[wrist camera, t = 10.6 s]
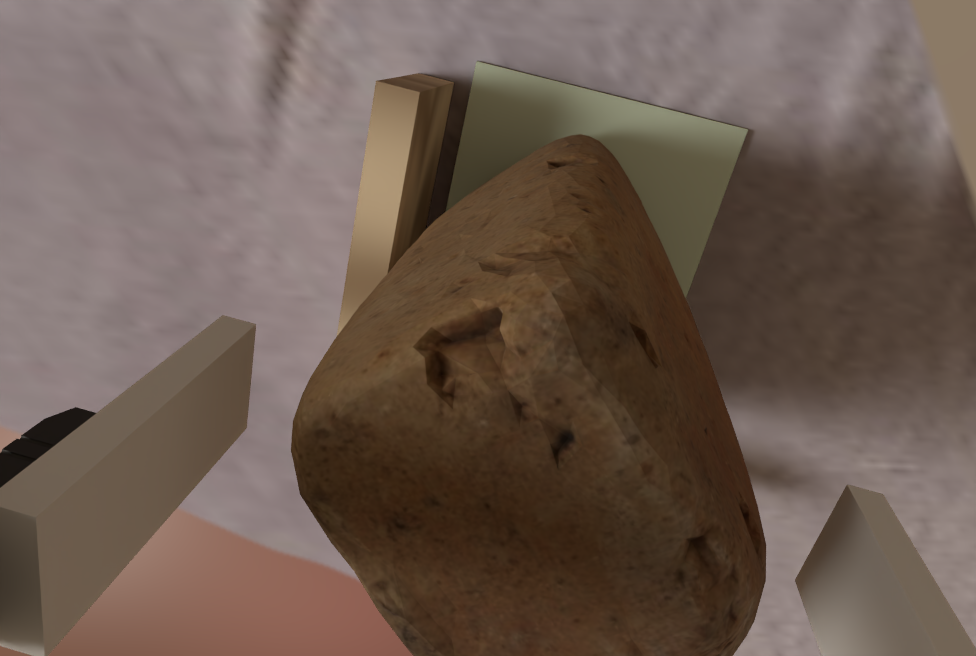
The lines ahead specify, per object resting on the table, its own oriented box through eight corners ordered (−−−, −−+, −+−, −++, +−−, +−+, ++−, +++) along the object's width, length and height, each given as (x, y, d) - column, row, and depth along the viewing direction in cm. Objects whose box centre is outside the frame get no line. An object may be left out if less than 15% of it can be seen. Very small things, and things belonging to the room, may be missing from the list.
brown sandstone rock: (441, 192, 30) (198, 426, 12) (600, 104, 28) (602, 226, 10) (557, 397, 33) (506, 839, 15) (710, 331, 31) (874, 760, 12)
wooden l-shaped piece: (419, 73, 29) (376, 80, 23) (799, 169, 28) (848, 201, 22) (364, 384, 35) (319, 449, 29) (677, 470, 34) (692, 554, 28)
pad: (477, 61, 28) (476, 61, 28) (746, 129, 28) (747, 129, 28) (414, 365, 34) (413, 367, 34) (638, 426, 33) (638, 428, 33)
